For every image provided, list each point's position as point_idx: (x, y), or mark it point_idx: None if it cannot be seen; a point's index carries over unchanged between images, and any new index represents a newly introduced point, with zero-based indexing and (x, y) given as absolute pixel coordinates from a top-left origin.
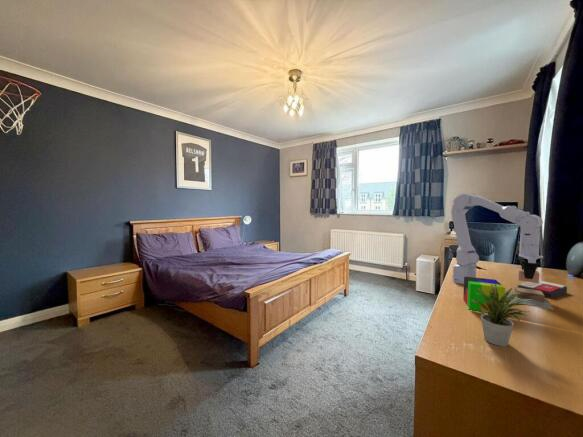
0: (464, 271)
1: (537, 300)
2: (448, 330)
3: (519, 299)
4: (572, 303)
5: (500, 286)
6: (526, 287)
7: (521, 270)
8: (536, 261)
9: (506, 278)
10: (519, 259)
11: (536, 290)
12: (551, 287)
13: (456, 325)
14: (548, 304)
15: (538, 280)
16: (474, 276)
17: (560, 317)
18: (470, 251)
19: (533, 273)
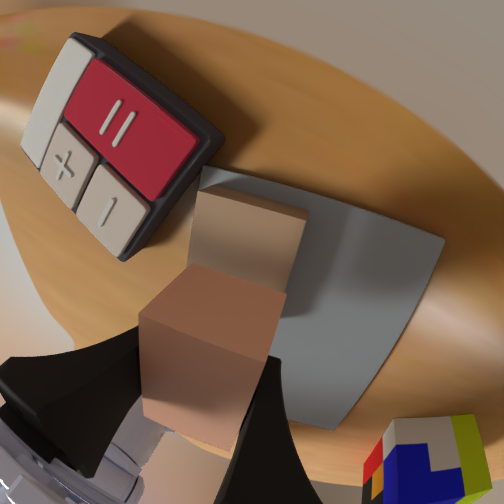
0: (146, 453)
1: (304, 241)
2: (500, 470)
3: (319, 327)
4: (253, 52)
5: (479, 495)
6: (137, 232)
7: (198, 429)
8: (50, 400)
9: (7, 209)
10: (92, 476)
11: (200, 216)
12: (116, 105)
13: (491, 467)
14: (363, 217)
15: (280, 311)
16: (140, 416)
17: (500, 256)
18: (43, 467)
19: (282, 406)
